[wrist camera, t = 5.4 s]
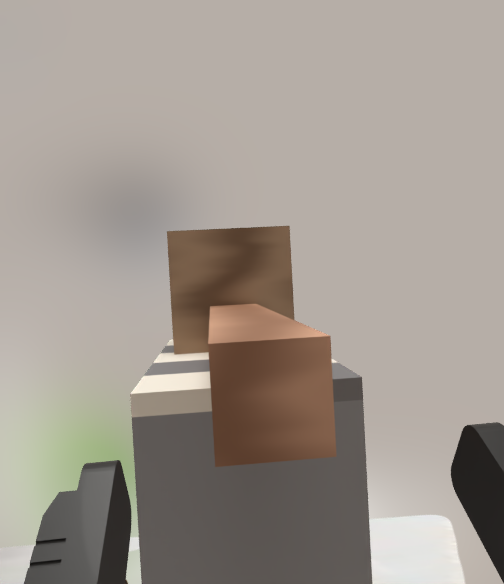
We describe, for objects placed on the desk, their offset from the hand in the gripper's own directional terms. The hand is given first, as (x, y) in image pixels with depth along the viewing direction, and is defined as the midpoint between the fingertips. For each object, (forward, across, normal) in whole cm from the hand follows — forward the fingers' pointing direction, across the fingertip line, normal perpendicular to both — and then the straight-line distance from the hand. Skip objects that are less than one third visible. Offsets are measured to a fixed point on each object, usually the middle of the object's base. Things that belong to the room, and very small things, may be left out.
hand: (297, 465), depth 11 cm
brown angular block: (+12, 0, -8) cm, 15 cm away
